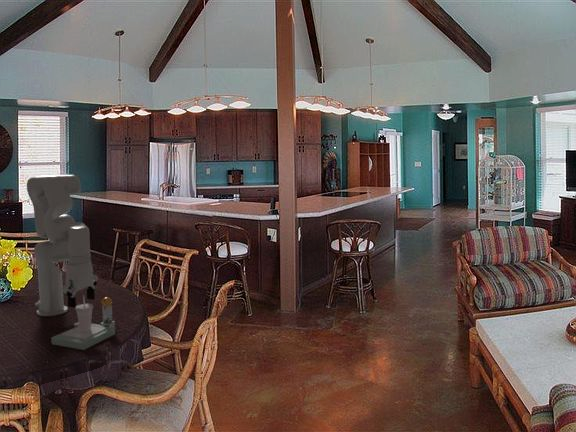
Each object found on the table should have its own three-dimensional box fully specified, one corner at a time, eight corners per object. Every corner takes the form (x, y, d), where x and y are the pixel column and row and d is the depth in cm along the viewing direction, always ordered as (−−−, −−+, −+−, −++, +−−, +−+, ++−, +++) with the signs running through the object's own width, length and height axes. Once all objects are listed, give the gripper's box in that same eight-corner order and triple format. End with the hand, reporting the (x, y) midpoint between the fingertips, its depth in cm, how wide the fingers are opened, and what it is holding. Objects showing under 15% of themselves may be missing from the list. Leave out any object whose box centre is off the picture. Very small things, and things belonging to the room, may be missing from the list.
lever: (100, 328, 211) (98, 298, 209) (107, 324, 215) (105, 295, 213) (108, 329, 209) (107, 299, 208) (115, 326, 213) (114, 296, 211)
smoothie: (76, 334, 199) (74, 298, 197) (76, 329, 205) (74, 293, 203) (95, 332, 202) (93, 296, 200) (93, 326, 208) (92, 291, 206)
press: (38, 341, 200) (37, 333, 200) (79, 323, 219) (78, 316, 219) (83, 349, 192) (83, 342, 192) (121, 330, 212) (121, 323, 211)
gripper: (88, 253, 208) (90, 295, 211) (54, 263, 192) (56, 308, 195) (103, 255, 205) (105, 297, 208) (70, 265, 189) (72, 311, 192)
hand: (81, 303), depth 201 cm, fingers open, 9 cm apart
